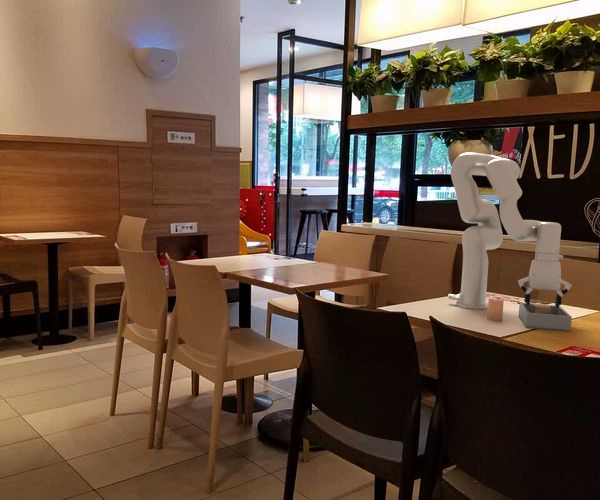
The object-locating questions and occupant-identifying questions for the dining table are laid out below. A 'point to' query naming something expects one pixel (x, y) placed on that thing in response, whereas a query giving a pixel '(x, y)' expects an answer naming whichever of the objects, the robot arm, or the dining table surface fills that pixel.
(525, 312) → the tote
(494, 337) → the dining table surface
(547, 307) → the walnut cube
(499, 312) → the terracotta cylinder
